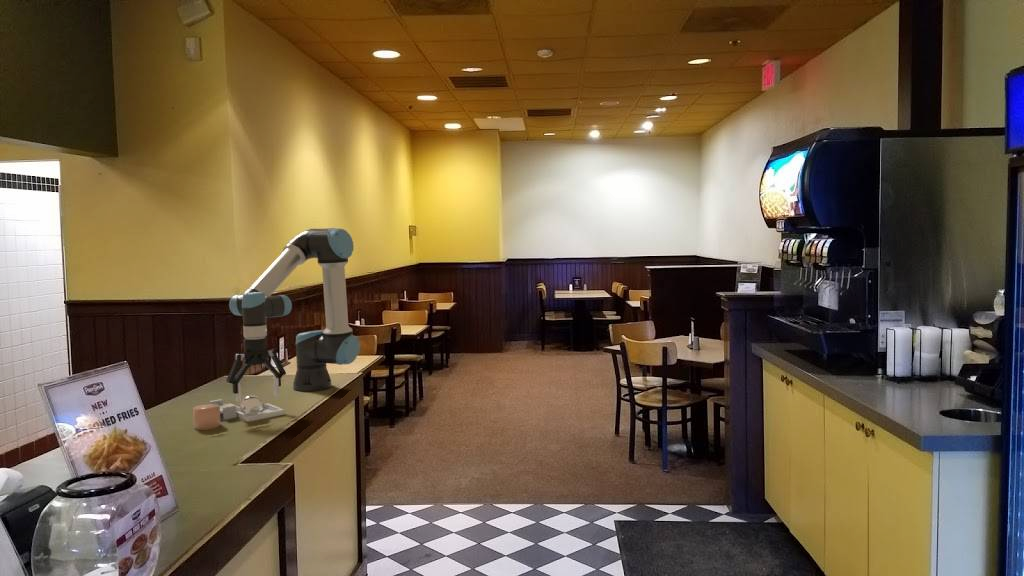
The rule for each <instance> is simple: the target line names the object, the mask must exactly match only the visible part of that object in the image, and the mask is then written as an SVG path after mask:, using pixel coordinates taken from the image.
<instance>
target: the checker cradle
mask: <svg viewBox="0 0 1024 576" xmlns="http://www.w3.org/2000/svg"><path fill="white" fill-rule="evenodd" d="M208 404H217V405H223V399H222V398H221V399H214V400H209V402H208ZM236 406H237V405H236V404H234V405H231V406H226V407H223V414H220V422H226V421H230V420H236V419H239V417H237V411H236Z"/></svg>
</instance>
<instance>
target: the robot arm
mask: <svg viewBox="0 0 1024 576" xmlns="http://www.w3.org/2000/svg"><path fill="white" fill-rule="evenodd" d="M353 252H354V241H353V238H352V236H351V235H350V233H349V232H348V231H347V230H345V229H344V228H337V227H332V228H331V227H330V228H310V229H306V230H304V231H302V232H300V233H298V234H297V235H295V237H293V238H291V239H290V240H289V241H288V243H286V245H284V247H283V250H282V253H280V255H279V256H278V257H277V258H276V259H275V260H274V261H273V262H272V263H271V264H270V265H269V266H268V267H267V268H266V270H264V272H263V273H262V274H261V275H260V276H259V277H258V278H257V279H256V280H255V281H254V282H253V283H252V284H251V285H250V286H249V288H247V289H246V291H245V292H244V293H242V294H241V293H240V294H235V295H233V296H231V298H230V300H229V303H228V306H229V310H230V312H231V313H232V314H233V315H234V316H241V317H242V330H243V338H244V339H243V350H244V352H243V353H235V354H234V361H233V364H232V366H231V369H230V371H229V373H228V375H227V378H226V383H229V384H232V393H233V394H235V403H236V404H239V405H240V404H241V401H242V387H241V383H240V382H241V380H242V378H243V377H244V375H245V374H246V372H247V371H248V370H249V368H251V366H258V365H264V366H265V367H266V368H267V369H268V370H269V371H270V372H271V374H273V375H274V376H273V377H272V384H273V385H272V389H273V391H272V392H273V397H276V398H278V397H280V387H281V386H282V378H283V376H285V375H287V372H286V370H285V368H284V366H283V364H282V362H281V361H280V359H279V357H278V353H277V350H276V349H270V350H269V349H268V338H267V336H268V328H267V319H270V318H271V319H272V318H277V317H284V316H287V315H289V314H290V313H291V311H292V308H293V303H292V301H291V299H290V298H289V296H287V295H286V294H277V295H273V293H275V291H276V290H277V289H279V287H280V286H281V285H282V283H284V281H285V280H286V279H287V278H288V277H289V276H290V275H291V273H292V272H293V271H294V270H296V268H298V266H300V265H303V264H305V262H306V261H308V260H310V259H317V264H318V265H319V267H320V268H321V269H322V270H321V271H322V284H323V300H324V313H325V326H326V327H325V329H320V330H310V331H305V332H301V333H298V334H296V336H295V353H296V354H295V355H296V372H295V376H294V379H293V382H292V389H293V390H295V391H299V392H313V391H323V390H326V389H329V388H331V387H332V379H331V376H330V373H329V371H328V369H327V364H331V365H335V364H336V365H340V366H341V365H350V364H352V363H353V362H355V360H356V359H357V357H358V355H359V352H360V348H361V344H360V340H359V338H358V336H356V335H354V334H353V333H354V331H353V328H352V327H350V326H349V316H348V315H349V314H348V300H347V283H346V269H345V267H346V265H347V264H348V263H349V258H350V257H351V256H352V255H353ZM268 357H271V360H272V361H273V363H274V365H275V366H276V368H275V366H274V365H272V364H271V362H270V361H269V360H268ZM243 359H245V360H244V362H243V364H242V366H241V367H240V365H241V363H242V361H243ZM239 367H240V369H239Z"/></svg>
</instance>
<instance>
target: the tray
mask: <svg viewBox="0 0 1024 576" xmlns="http://www.w3.org/2000/svg"><path fill="white" fill-rule="evenodd" d="M264 404H265V410H264V411H263V412H261V413H258V414H256V415H250V416H249V415H245V414H243V413H242V411H237V417H239V418H238V419H239V420H242V421H245V422H246V423H250V422H255V421H262V420H266V419H271V418H277V417H281V416H285V415H286V409H285V408H282V407H279V406H276V405H274V404H271V403H264Z"/></svg>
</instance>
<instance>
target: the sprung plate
mask: <svg viewBox="0 0 1024 576" xmlns="http://www.w3.org/2000/svg"><path fill="white" fill-rule="evenodd" d="M222 404H223V403H222ZM231 405H235V404H234V403H224V404H223V405H220V414H223V407H226V406H231ZM236 411H241V409H240V406H238V405H236Z"/></svg>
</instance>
